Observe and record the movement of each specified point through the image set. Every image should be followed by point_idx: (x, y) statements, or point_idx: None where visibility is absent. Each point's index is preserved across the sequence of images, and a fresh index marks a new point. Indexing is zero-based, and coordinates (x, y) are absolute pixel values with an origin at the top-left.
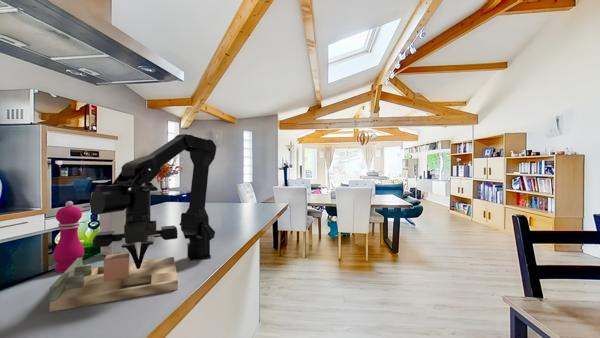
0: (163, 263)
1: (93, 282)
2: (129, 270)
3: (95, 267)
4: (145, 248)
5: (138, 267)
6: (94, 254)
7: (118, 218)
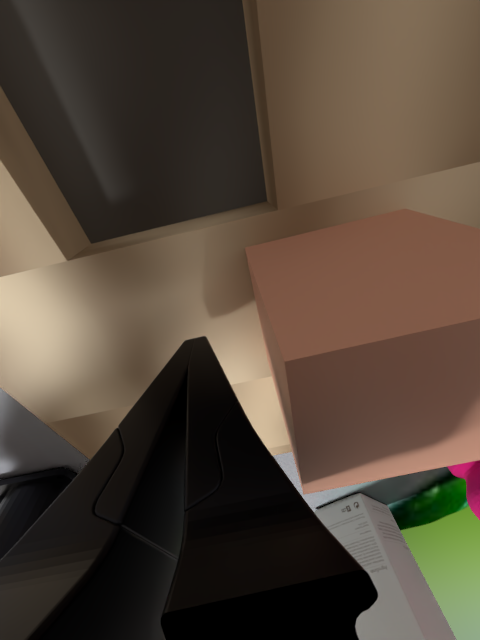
0: None
1: (472, 197)
2: (267, 359)
3: None
4: (5, 578)
5: (193, 342)
6: (401, 504)
7: None
